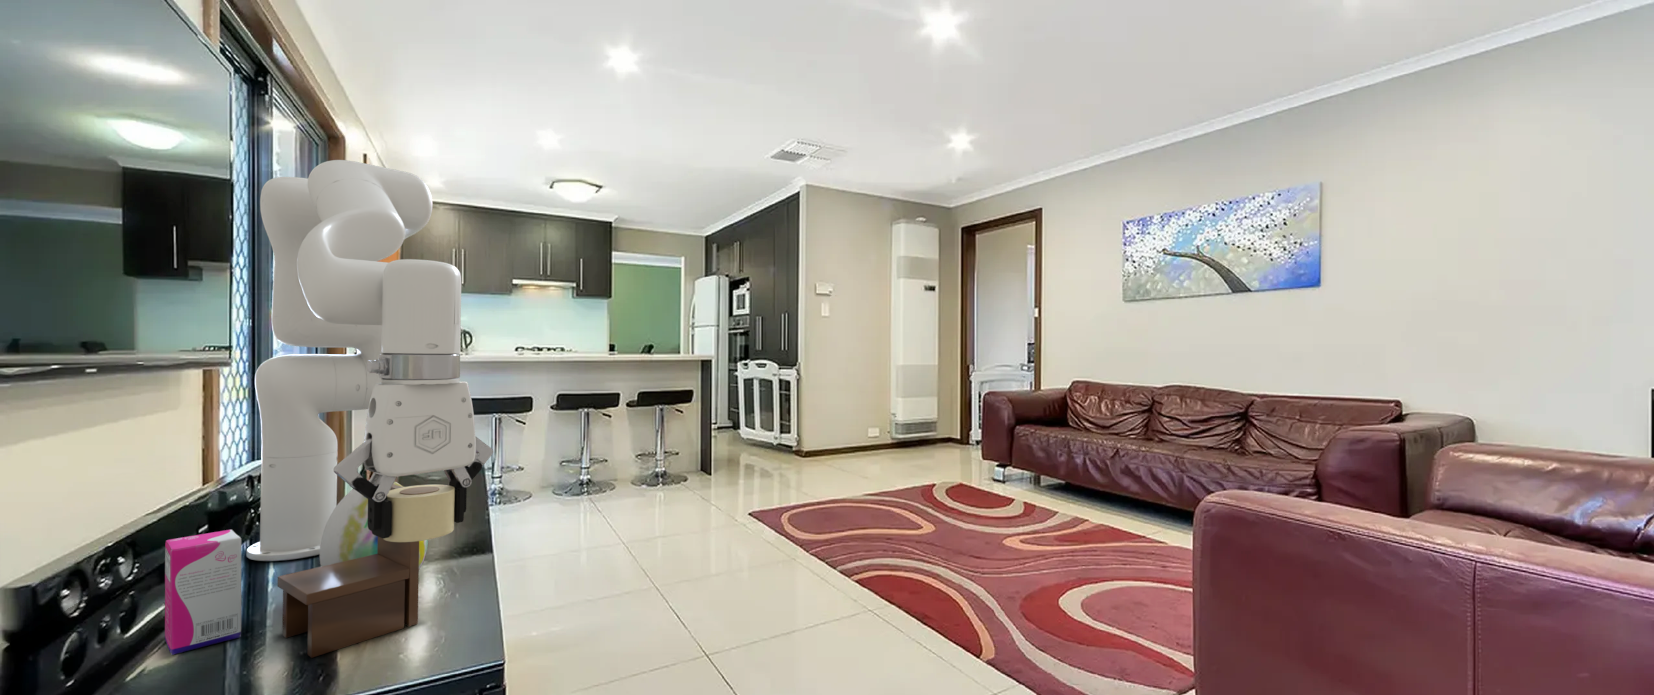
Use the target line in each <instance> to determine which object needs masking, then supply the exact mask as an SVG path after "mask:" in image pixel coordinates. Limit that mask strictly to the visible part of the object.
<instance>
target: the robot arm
mask: <svg viewBox="0 0 1654 695" xmlns="http://www.w3.org/2000/svg"><path fill="white" fill-rule="evenodd" d="M433 205H434V204H433V196H432V193H431V191H430V188H429V186H428V185H427V184H426V182H425V181H424V180H423V179H422V178H420V177H419V176H418V175H416V174H414V173H411V172H408V171H403V170H399V169H393V168H389V167H384V166H379V165H375V164H371V163H365V162H360V161H354V160H347V159H333V160H326V161H323V162H321V163H319V164H318V165H316V166H315V167H314V168H313V169H312V170H311V171H310V173H309V175H308V177H307V178H306V177H297V176H278V177H272V178H271V179H268V180H267V181H266V182H265V183H264V185H263V186H262V188H261V190H260V199H259V206H260V207H259V209H260V216H261V220H262V223H263V227H264V229H265V232H266V235H267V238H268V240H269V242H270V246H271V249H272V251H273V257H274V258H273V259H274V267H273V284H272V298H271V299H272V300H271V329H272V333H273V336H274V337H275V339H276V340H277V342H279V343H281V344H284V345H286V346H290V347H301V348H342V349H343V348H346V349H347V348H348V349H349V348H350V349H351V348H352V349H354V350H356V354H328V353H298V354H297V353H294V354H283V355H278V356H274V357H270V358H269V359H266V360H264V361H263V362H262V363H261V364H260V365H259V366H258V368H257V369H256V371H255V374H254V388H255V395H256V400H257V404H258V411H259V418H260V432H261V433H260V434H261V452H260V453H261V454H260V455H261V457H260V458H261V459H260V460H261V463H260V464H261V465H260V466H261V467H260V471H261V472H260V516H259V517H260V520H259V521H260V522H259V541H257V542H255V543H253V544H252V545H250V546H249V547H248V548H246V553H245V554H246V558H248V559H249V560H252V561H257V562H279V561H292V560H297V559H298V560H299V559H304V558H310V557H315V556H320V544H321V539H322V535H323V531H324V529H325V526H326V524H327V521H328V519H329V517H330V515H331V514H332V512H333V510H334V509H335V508H336V506H337V504H338V503H337V502H338V501H337V499H338V497H337V496H338V477H339V478H340V479H342V481H344V482H345V483H346V484H348V486H349V487H350V488H352V489H355V490H356V491H357V492H359V493H360V494H362V495H363V496H364V497H365V498H367V499H368V529H369V530H370V531H372V534H373V535H375V536H378V537H380V538H383V539H384V538H388V537H390V536H391V534H392V502H391V501H390V500H387V495H388V493H389V491H390V489H391V487H392V485H393V483H394V482H396V479H397V478H398V477H406V476H413V475H418V474H419V475H420V474H421V475H422V474H428V473H435V472H440V471H443V472H444V474H445V475H446V477H447V479H448V481H449V482H448V483H449V484H448V485H449V486H453V487H454V488H455V497H454V523H456V524H459V523H463V522H464V518H465V516H464V514H465V513H466V511H467V493H468V490H467V489H468V488H469V487H470V486H471V485H472V482H473V480H474V479H475V478H476V476H477V475H478V474H479V473H480V472H481V471H482V469H483V466H484V465H485V464H486V463H487V462H488V460H489V459H490V458H491V456H492V455H493V454H494V450H493V448H492V447H491V446H489V445H487V443H485V442H484V441H482V440H481V439H480V438H479V437H477V436H476V426H475V425H476V424H475V413H474V407H473V400H472V396H471V391H470V387H469V382H468V381H461V321H462V320H461V318H462V274H461V272H460V270H459V269H458V268H457V267H456V266H455V265H453V264H451V263H447V262H443V261H437V260H430V259H429V260H427V259H415V258H404V259H403V258H402V259H396V260H392V261H390V262H386V261H383V260H385V259H387V258H389V257H391V256H392V255H394V254H395V253H396V252H398V250H399V249H401V247H402V245H403V243H404V241H405V240H406V239H407V238H409V237H412V236H414V235H416V234H417V233H418V232H420V231H422V230H423V229H424V228H426V226H427V225H428V223H429V221H430V220H431V217H432V213H433ZM361 410H362V411H363V410H364V411H365V410H367V413H366V419H365V426H364V438H363V442H362V443H361V444H360V445H359V446H358V447H356V448H355V449H354V450H352V452H350V453H349V454H348V455H346V457H344V458H343V459H342V460H341V461H340V462H338V447H339V446H338V444H339V443H338V438H337V435H336V433H335V431H333V429H332V428H331V427H330V426H329V425H328V424H327V423H325V422H324V421H323V420H322V419H321V418H320V416H319V415H320V414H322V413H329V412H330V413H331V412H347V411H361ZM361 465H363V466H364V468H365V470H367V471H369V472H373V473H372V475H371V477H370V478H369V479H367V478H365V477H364V476H363V475H362V474H361V473H359V470H358V469H359V468H360V467H361ZM368 480H369V481H368Z"/></svg>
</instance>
